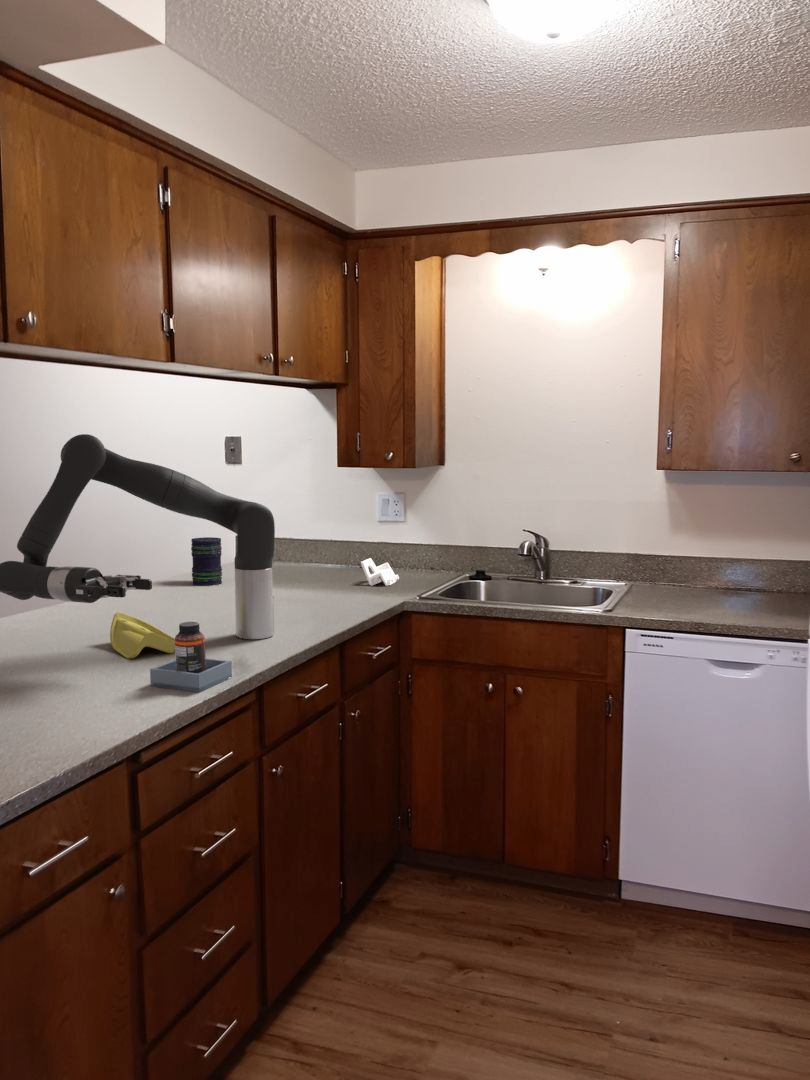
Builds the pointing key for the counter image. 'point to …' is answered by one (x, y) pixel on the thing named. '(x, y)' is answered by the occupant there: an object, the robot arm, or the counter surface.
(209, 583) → the storage jar
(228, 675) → the parts tray
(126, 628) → the plastic component
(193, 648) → the supplement bottle
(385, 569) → the mounting bracket
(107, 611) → the counter surface
